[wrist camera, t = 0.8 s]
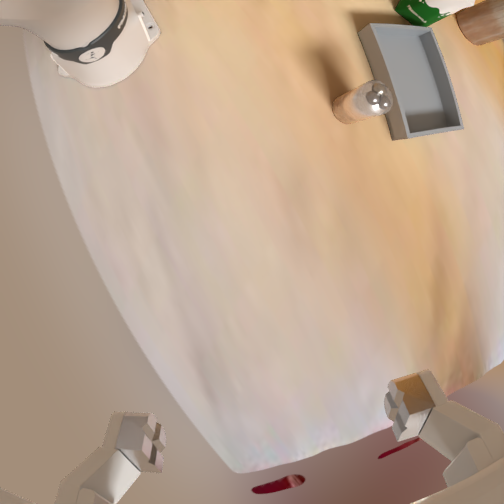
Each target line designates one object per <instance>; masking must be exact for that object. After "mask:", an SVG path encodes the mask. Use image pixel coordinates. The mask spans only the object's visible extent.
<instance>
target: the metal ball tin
mask: <svg viewBox="0 0 504 504" xmlns="http://www.w3.org/2000/svg"><path fill="white" fill-rule="evenodd" d="M392 104H393V98H392V94H391V92H390V90H389V89H388V87H387V86H386V85H385V84H383V83H382V82H380V81H377V80H371V81H368V82H366V83H364V84H362V85H361V86H359V87H357V88H355V89H353V90H351V91H349V92H347V93H345V94H343V95H341V96H339V97H338V98H336V99H335V100H334V102H333V105H332V110H333V113H334V116H335V117H336V118H337V119H338V120H339V121H340V122H342V123H344V124H351V123H355V122H358V121H361V120H365V119H368V118H371V117H375V116H378V115H382V114H385V113H387V112H389V111H390V109H391V108H392Z"/></svg>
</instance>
